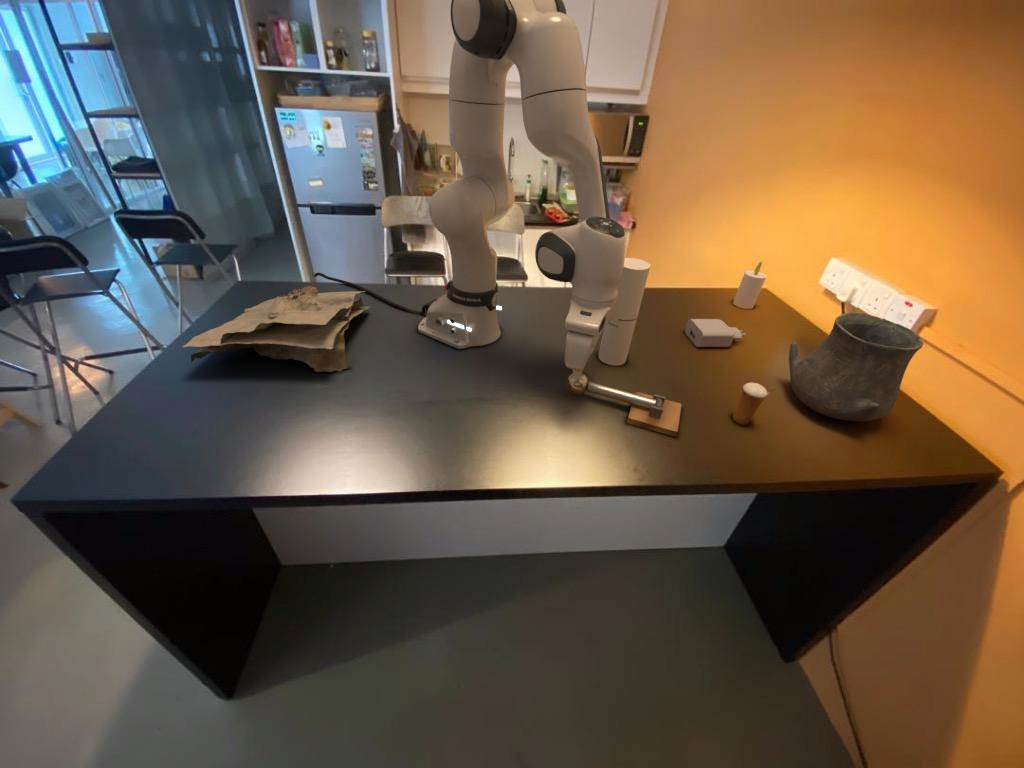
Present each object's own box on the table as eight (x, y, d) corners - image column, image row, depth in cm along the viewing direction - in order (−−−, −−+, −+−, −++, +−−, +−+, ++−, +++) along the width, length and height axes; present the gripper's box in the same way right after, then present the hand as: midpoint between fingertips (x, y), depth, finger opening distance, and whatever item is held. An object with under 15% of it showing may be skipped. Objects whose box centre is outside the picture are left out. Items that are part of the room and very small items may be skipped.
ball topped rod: (562, 395, 95) (564, 377, 92) (568, 383, 99) (571, 365, 96) (657, 422, 89) (664, 404, 86) (660, 408, 93) (666, 390, 90)
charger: (749, 348, 117) (697, 348, 115) (732, 332, 124) (683, 331, 123) (756, 333, 114) (703, 333, 113) (738, 317, 121) (688, 317, 120)
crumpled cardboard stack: (252, 282, 117) (366, 274, 117) (270, 337, 124) (378, 329, 124) (165, 322, 85) (323, 310, 86) (197, 393, 92) (342, 381, 93)
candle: (750, 301, 142) (769, 258, 133) (755, 310, 137) (774, 265, 128) (731, 298, 143) (748, 255, 134) (734, 307, 138) (752, 262, 129)
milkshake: (754, 431, 89) (774, 393, 83) (727, 421, 91) (745, 384, 85) (757, 419, 92) (776, 382, 86) (731, 410, 94) (748, 373, 88)
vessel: (915, 433, 91) (981, 355, 80) (825, 440, 88) (880, 360, 76) (838, 374, 109) (883, 303, 97) (761, 378, 105) (798, 305, 93)
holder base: (626, 423, 89) (630, 408, 87) (634, 396, 97) (638, 382, 94) (675, 437, 86) (681, 423, 84) (679, 408, 94) (684, 395, 92)
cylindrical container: (626, 367, 106) (651, 271, 91) (597, 362, 107) (617, 267, 92) (625, 352, 112) (649, 260, 97) (598, 348, 113) (617, 256, 98)
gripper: (589, 284, 92) (581, 340, 100) (562, 325, 76) (554, 386, 85) (618, 290, 90) (607, 346, 98) (596, 332, 75) (585, 394, 83)
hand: (582, 365), depth 91 cm, fingers open, 8 cm apart
